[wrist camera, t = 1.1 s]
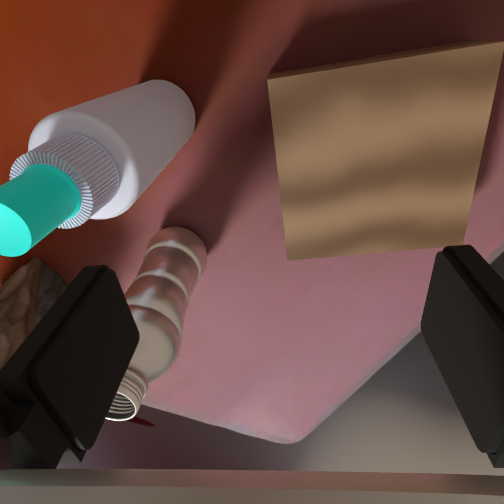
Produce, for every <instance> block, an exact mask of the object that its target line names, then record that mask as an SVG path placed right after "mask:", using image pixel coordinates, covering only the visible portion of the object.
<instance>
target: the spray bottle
mask: <svg viewBox="0 0 504 504" xmlns="http://www.w3.org/2000/svg"><path fill="white" fill-rule="evenodd" d="M194 128H195V111H194V108H193V105H192V103H191V101H190V99H189V97H188V96H187V95H186V93H185V92H184V91H183V90H182V89H181V88H179V87H178V86H177V85H175V84H173V83H171V82H169V81H165V80H150V81H147V82H144V83H141V84H138V85H135V86H132V87H129V88H126V89H123V90H120V91H117V92H114V93H111V94H108V95H106V96H103V97H100V98H97V99H94V100H91V101H88V102H85V103H82V104H79V105H76V106H73V107H70V108H67V109H64V110H61V111H59V112H56V113H53V114H50V115H48V116H46V117H45V118H44V119H42V120H41V121H40V122H39V123H38V124H37V125H36V127H35V128H34V130H33V132H32V134H31V136H30V140H29V146H28V152H27V153H25V154H24V155H22V156H20V157H19V158H18V159H16V161H15V162H14V164H13V166H12V167H11V169H12V170H10V172H11V174H10V176H11V177H10V181H8V182H6V183H5V184H3V185H1V186H0V255H3V256H9V257H15V256H20V255H23V254H25V253H26V252H27V251H28V250H30V249H31V248H32V247H33V246H35V245H36V244H37V243H38V242H40V241H41V240H42V239H43V238H44V237H46V236H47V235H48V234H49V233H51V232H52V231H53V230H54V229H56V228H57V227H58V228H61V227H62V229H64V228H66V229H68V228H72V227H73V228H75V227H78V226H79V225H81V224H83V223H84V222H86V221H87V220H88V219H89V218H90V219H108V218H113V217H116V216H118V215H120V214H122V213H124V212H125V211H127V210H128V209H129V208H130V207H131V206H132V205H133V204H134V202H135V201H136V200H137V199H138V198H139V197H140V196H141V194H142V193H143V192H144V191H145V190H146V189H147V187H148V186H149V185H150V184H151V183H152V182H153V181H154V179H155V178H156V177H157V176H158V175H159V174H160V172H161V171H162V170H163V169H164V168H165V167H166V166H167V164H168V163H169V162H170V161H171V160H172V159H173V157H174V156H175V155H176V154H177V153H178V152H179V151H180V149H181V148H182V147H183V146H184V145H185V144H186V143H187V141H188V140H189V139H190V137H191V136H192V134H193V131H194Z"/></svg>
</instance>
